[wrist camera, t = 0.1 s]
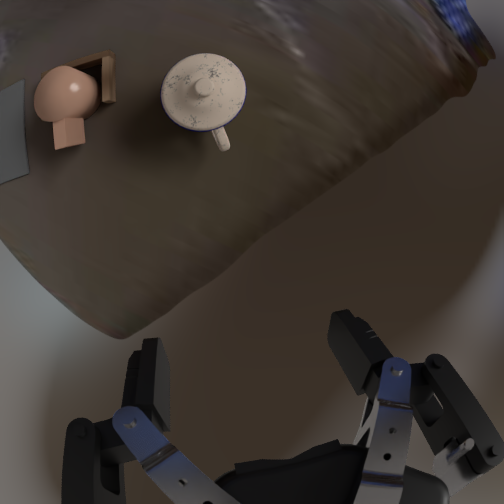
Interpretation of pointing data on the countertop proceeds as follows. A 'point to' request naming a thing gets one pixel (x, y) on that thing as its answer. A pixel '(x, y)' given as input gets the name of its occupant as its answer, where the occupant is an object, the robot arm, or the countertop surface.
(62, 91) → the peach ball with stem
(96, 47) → the countertop surface
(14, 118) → the charcoal mat
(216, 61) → the teacup with lid
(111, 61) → the walnut holder
